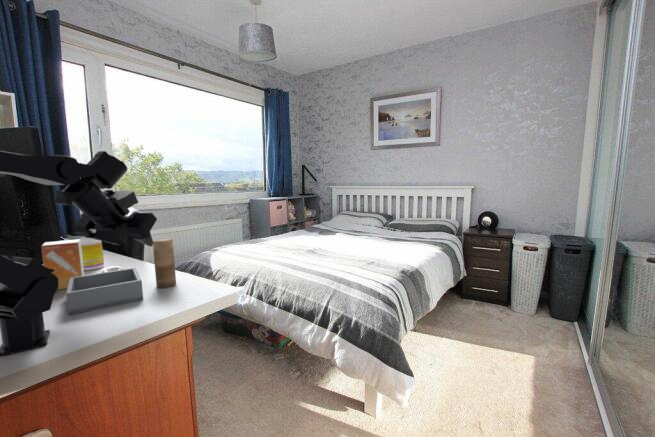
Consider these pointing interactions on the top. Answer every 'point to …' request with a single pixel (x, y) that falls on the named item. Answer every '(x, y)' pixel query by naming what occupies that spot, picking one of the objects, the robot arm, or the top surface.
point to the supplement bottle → (92, 253)
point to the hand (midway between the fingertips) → (136, 244)
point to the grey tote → (103, 290)
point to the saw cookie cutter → (111, 269)
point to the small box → (63, 260)
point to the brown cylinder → (164, 263)
